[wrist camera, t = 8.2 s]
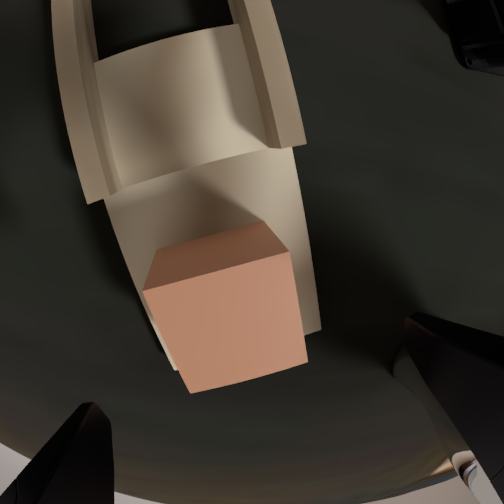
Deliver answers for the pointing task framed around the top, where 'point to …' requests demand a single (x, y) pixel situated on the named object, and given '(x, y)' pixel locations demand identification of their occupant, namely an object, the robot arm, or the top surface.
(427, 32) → the top surface
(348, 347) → the top surface
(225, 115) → the beige open frame tray
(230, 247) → the block
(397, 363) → the beer glass
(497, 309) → the top surface
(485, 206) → the top surface
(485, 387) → the robot arm
